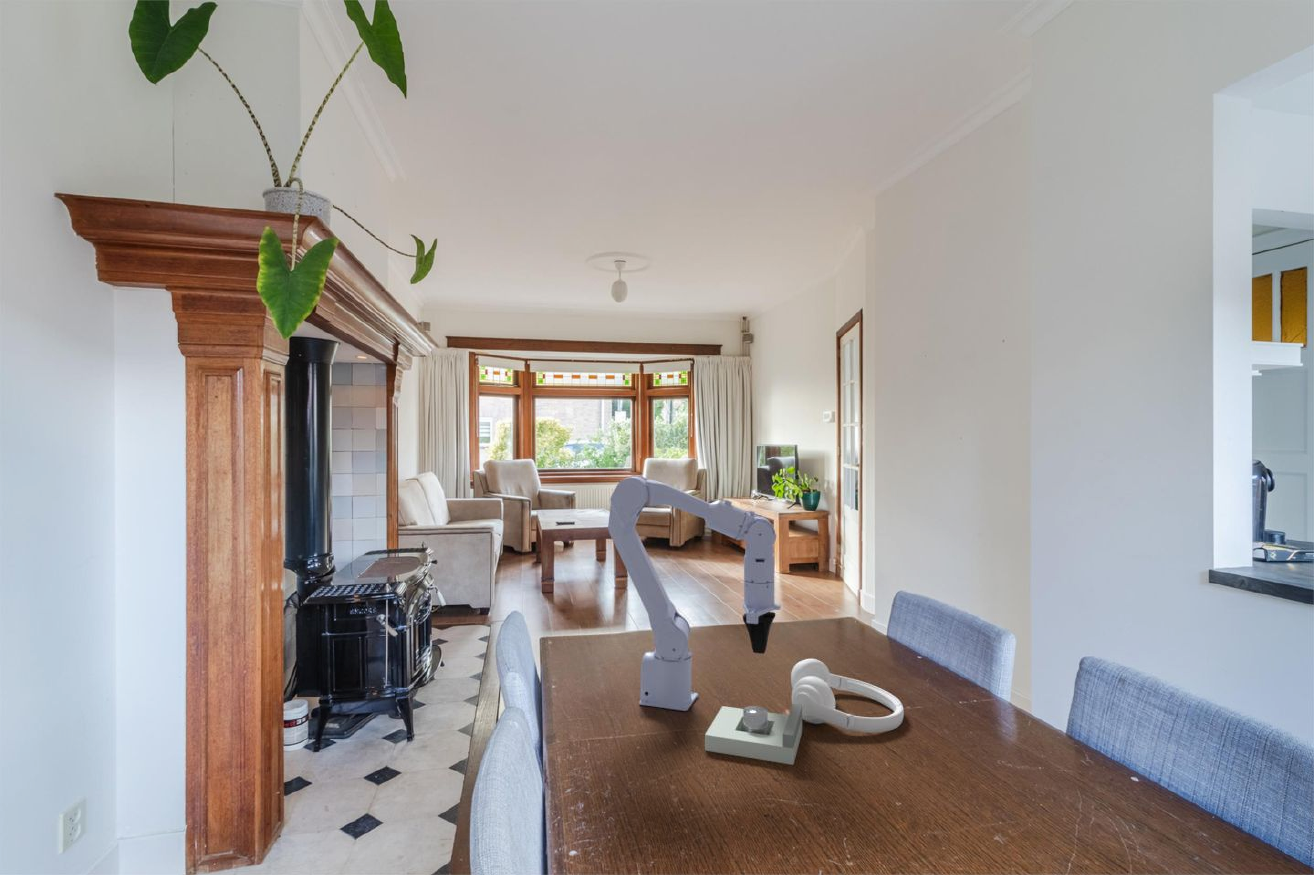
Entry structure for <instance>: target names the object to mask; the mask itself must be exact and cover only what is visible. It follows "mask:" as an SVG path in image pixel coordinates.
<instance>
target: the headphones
mask: <svg viewBox="0 0 1314 875" xmlns="http://www.w3.org/2000/svg"><path fill="white" fill-rule="evenodd" d="M790 682H791V687H792V691H791V704H792V705H793V704H795V705H802V721H803V720H804V721H805V722H807V723H810V724H812V723H813V725H820V724H824V723H829V724H832V725H834V726H837V727H839V728H842V729H843V730H844V731H848V732H849V731H853V732H860V733H870V734H871V733H872V734H873V733H874V734H875V733H884V732H889V731H890V732H891V731H892V730H895V729H897V728H898V727H900V725H902V723H903V720H904V716H905V712H904V710H905V709H904V706H903V703H902V702H901V701H900V699H899V698H898V697H896V696H895V695H893V694H892V693H890V692H889V691H886V690H885V689H883V688H880V687H877V686H875V685H874V684H871V683H868V682H865V681H862V680H858V679H856V678H855V679H854V678H850V677H845V676H843V675H838V674H837V675H836V674H833V673H830V670H829V668H828V667H827V665H826V664H825V663H824V662H822V660H821V661H820V660H819V659H816V658H806V659H803V660H800V661H799V662H796V663H795V665H794V666H793V667H792V670H791V674H790ZM832 688H833V689H835V690H837V691H845V692H850V693H854V694H857V695H860V696H864V697H867V698H869V699H872V700H874V701H876V702H879V703H880V704H882V705H884V706H886V707H887V708H889V709H890V710H892V711H893V713H892V714H889V715H887V716H881V717H880V716H879V717H872V716H871V717H867V716H866V717H865V716H857V715H854V714H850V713H846V712H843V711H841V710H838V709H836V699H835V695H834V692H833V690H832ZM792 705H791V706H792Z"/></svg>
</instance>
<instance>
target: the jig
mask: <svg viewBox="0 0 1314 875" xmlns="http://www.w3.org/2000/svg"><path fill="white" fill-rule="evenodd" d="M743 709H744V708H739V707H733V706H731V707H730V706H726V705H725V706H724V705H722V706H721V707H720V710H719V711H718V713H717V714H716V716H715V717H714V719H713V721H712V723H711V724H710V726H709V727H708V729H707V731H706V732H705V734H704V751H706V752H707V751H708V752H711V753H712V752H713V753H719V754H725V755H730V756H738V757H742V758H750V759H755V760H760V761H768V762H773V763H780V764H785V765H791V766H793V765H794V764H795V761H796V756H797V753H798V749H799V745H800V741H801V737H802V734H803V719H802V705H795V704H793V705H791V708H790V711H789V713H788V714H781V713H776V712H769V711H768V735H763V734H756V733H750V732H743Z"/></svg>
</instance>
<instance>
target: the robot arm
mask: <svg viewBox="0 0 1314 875" xmlns="http://www.w3.org/2000/svg"><path fill="white" fill-rule="evenodd" d="M609 501H610V508H609V515H608V525H607V530H608V533H609V535H610V537H611V539H612V541H613V544H614V546H615V548H616V550H617V552H618V554H619V557H620V558H621V560H622V563H623V565H624V566H625V569H626V571H627V574H628V575H629V577H630V580H631V582H632V583H633V585H634V587H635V590H636V592H637V593H638V596H639V597H640V600H641V602H642V604H643V606H644V609H645V611H646V612H647V615H648V620H649V625H650V628H651V632H652V633H653V637H654V639H653V641H654V643H653V644H654V648H655V649H654V650H653V651H646V652H645V653H644V655H643V657H642V658H641V664H640V700H639V702H638V705H641V706H647V707H655V708H663V709H668V710H675V711H683V712H686V711H688V710H689V708H691V706H692V704H693V703H694V702H695V700H696V699H697V698H698V697H699V694H698V692H692V650H690V648H689V647H688V646H689V636H690V633H691V628H690V627H691V626H690V624H689V621H688V620H687V619H686V618H685V617H684V616H682V615H681V614H680V613H679V612H678V610H677V608H676V606H675V604H674V603H673V602H672V600H670V598H669V596H668V594H667V592H666V589H665V587H664V586H663V584H662V581H661V579H660V577H659V574H658V573H657V571H656V568H655V566H654V565H653V562H652V561H651V559H650V557H649V554H648V552H647V550H646V548H645V546H644V544H643V542H642V540H641V538H640V535H639V534H638V531H637V529H636V525H637V523H638V520H639V517H640V515H641V513H642V511H643V509H644V508H645V507H646V506H647V504H648V503H649V507H655V506H661V505H667V506H669V507H672V508H675V509H678V510H681V511H682V512H685V513H689V514H691V515H694V516H697V517H699V518H702V519H704V521H705V525H706V526H707V528H708V529H710V530H713V531H716V532H718V533H721V534H723V535H725V536H727V537H730V538H732V539H735V540H736V541H741V540H744V541H745V542H744V543H745V546H744V547H745V554H744V555H743V602H742V608H743V609H744V612H745V613H744V614H743V615H742V621H743V622H744V624H745V627H746V629H747V633H748V636H749V640H750V645H751V649H752V652H753V653H755V654H763V655H764V654H765V652H766V650H767V647H768V646H767V645H768V640H769V636H770V635H769V634H770V631H771V630H770V629H771V626H772V624H773V621H774V619H775V617H776V613H775V612H773V611H779V610H781V609H782V608H781V606H782V605H781V604H779V603H775V556H774V552H775V549H774V548H775V547H774V544H775V542H776V539H777V534H776V530H775V528H774V525H773V524H772V522H770V520H769V519H768V518H766V517H764V516H763V515H762V514H756V512H755V511H754V510H751V509H750V510H749V511H747V510H745V509H743V508H739V507H737V506H735V505H733V503H732V500H728V499H725V500H721V499H717V500H716V501H713V502H707V501H705V500H703V499H701V498H699V497H696V496H694V495H692V494H689V493H687V492H685V491H684V490H681V489H679V488H677V487H674V486H672V485H670V484H668V483H664V482H661V481H658V480H655V479H650V478H649V479H647V478H645V477H643V476H641V475H631V476H629V477H626V478H624V479H621V481H619V482H618V483H617V484H616V486H615V489H614V491H613V492H612V494H611V496H610V500H609Z"/></svg>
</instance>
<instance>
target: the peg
mask: <svg viewBox="0 0 1314 875" xmlns="http://www.w3.org/2000/svg"><path fill="white" fill-rule="evenodd" d="M742 709H743V732H750V733H756V734H763V735H768V712H769V711H768V710H767V708H765V707H763V706H759V705H749V706H745V707H744V708H742Z"/></svg>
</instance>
